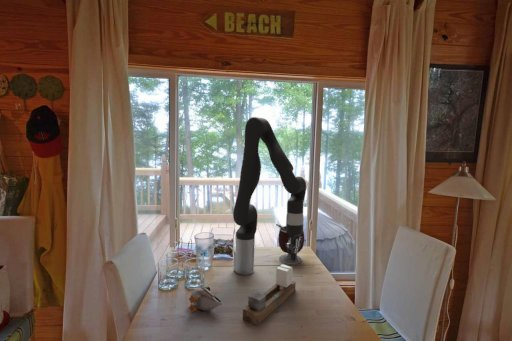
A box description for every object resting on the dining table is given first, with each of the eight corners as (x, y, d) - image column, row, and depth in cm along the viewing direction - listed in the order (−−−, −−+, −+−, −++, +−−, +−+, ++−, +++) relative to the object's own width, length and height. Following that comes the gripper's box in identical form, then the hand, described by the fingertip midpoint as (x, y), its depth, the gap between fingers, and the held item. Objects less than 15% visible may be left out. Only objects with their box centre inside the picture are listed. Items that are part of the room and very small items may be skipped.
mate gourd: (300, 254, 168) (301, 220, 166) (305, 265, 154) (307, 228, 152) (273, 254, 167) (274, 220, 165) (276, 265, 153) (277, 227, 151)
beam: (242, 319, 106) (243, 298, 106) (283, 286, 131) (283, 269, 130) (256, 325, 103) (257, 304, 102) (295, 290, 128) (296, 273, 127)
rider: (275, 288, 124) (276, 267, 123) (281, 284, 128) (282, 263, 127) (286, 292, 121) (287, 271, 120) (292, 287, 126) (292, 266, 125)
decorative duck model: (200, 278, 124) (233, 282, 119) (200, 295, 124) (233, 301, 119) (180, 291, 109) (217, 298, 105) (180, 312, 109) (217, 319, 105)
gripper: (294, 217, 136) (293, 254, 138) (279, 224, 125) (279, 263, 127) (308, 220, 132) (307, 257, 134) (295, 227, 121) (294, 267, 123)
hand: (293, 260), depth 130 cm, fingers closed
